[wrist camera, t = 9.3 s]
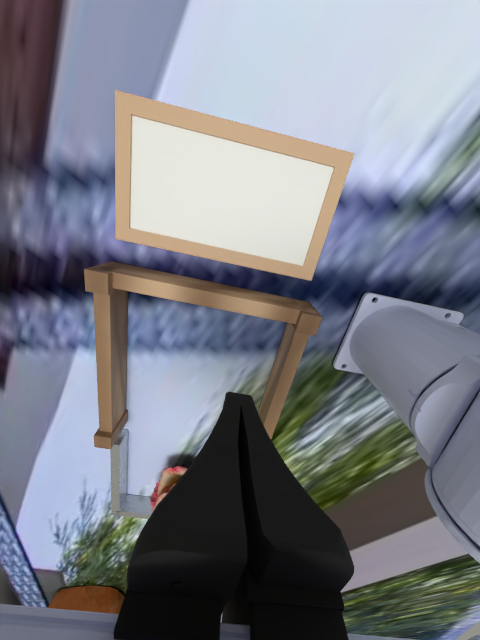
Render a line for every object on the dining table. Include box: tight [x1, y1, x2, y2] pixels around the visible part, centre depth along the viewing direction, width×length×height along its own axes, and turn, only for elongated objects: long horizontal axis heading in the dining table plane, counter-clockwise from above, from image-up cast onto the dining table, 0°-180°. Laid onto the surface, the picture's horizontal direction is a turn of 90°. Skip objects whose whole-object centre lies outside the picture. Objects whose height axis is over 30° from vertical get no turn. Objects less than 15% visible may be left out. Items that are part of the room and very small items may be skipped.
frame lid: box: [115, 90, 354, 281], centre depth 17 cm, size 16×9×1 cm, turn 78°
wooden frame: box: [84, 261, 322, 449], centre depth 21 cm, size 17×18×4 cm
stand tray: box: [111, 429, 153, 519], centre depth 29 cm, size 16×14×2 cm
